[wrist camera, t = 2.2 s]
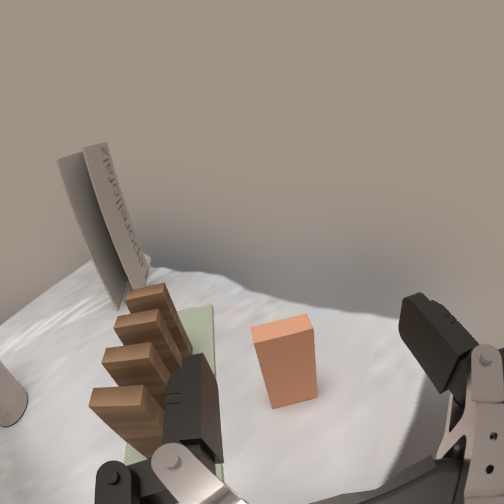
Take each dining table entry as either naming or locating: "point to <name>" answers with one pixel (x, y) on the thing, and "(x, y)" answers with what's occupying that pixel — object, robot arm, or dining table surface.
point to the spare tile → (287, 359)
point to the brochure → (103, 219)
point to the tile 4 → (150, 335)
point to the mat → (202, 341)
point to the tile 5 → (160, 300)
